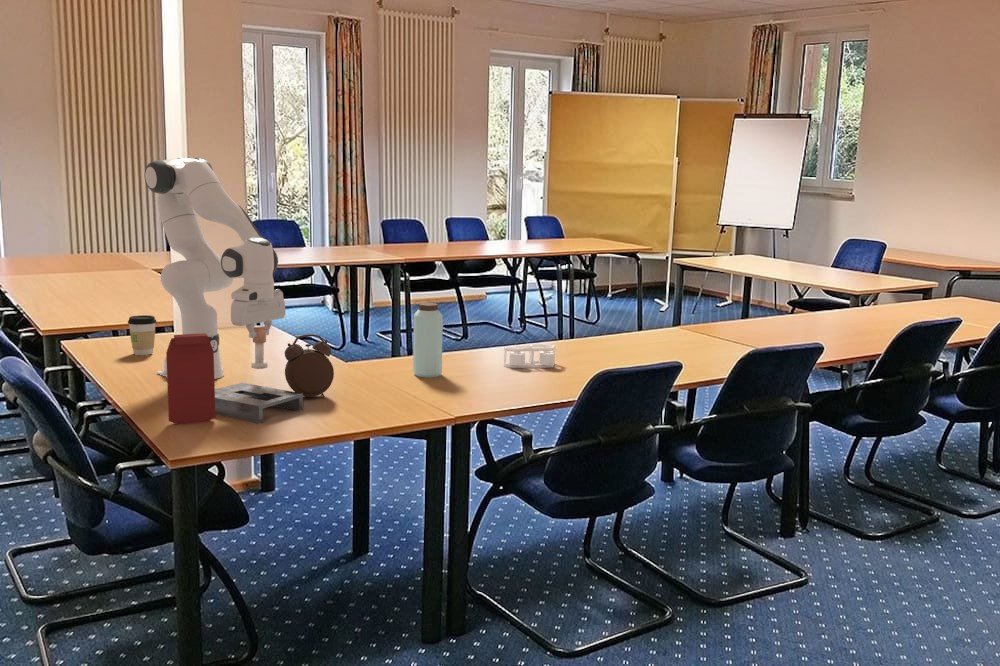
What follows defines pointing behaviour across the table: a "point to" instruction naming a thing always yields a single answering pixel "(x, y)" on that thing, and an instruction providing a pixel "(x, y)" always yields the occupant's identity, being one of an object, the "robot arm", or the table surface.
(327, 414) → the table surface
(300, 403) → the keyhole board
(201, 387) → the carton
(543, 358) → the white double holder
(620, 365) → the table surface
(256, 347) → the peg
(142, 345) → the coffee cup
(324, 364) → the alarm clock
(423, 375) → the water bottle
